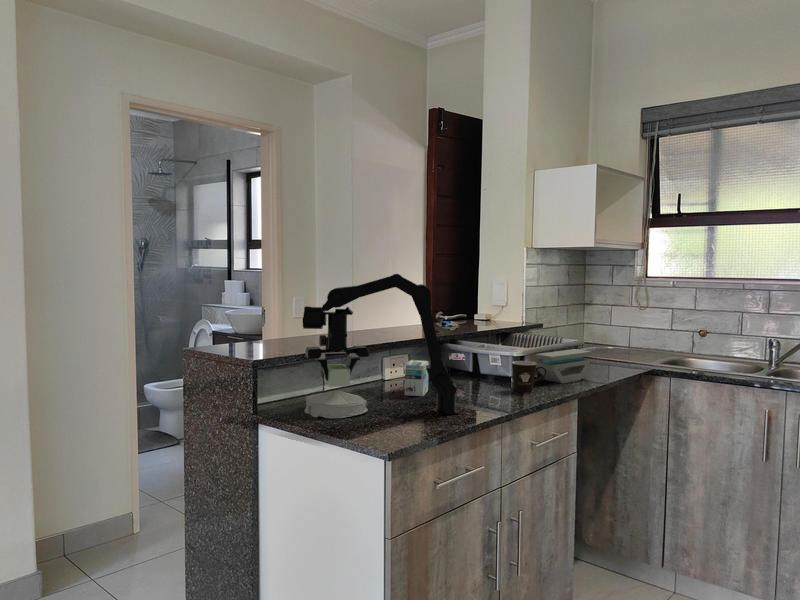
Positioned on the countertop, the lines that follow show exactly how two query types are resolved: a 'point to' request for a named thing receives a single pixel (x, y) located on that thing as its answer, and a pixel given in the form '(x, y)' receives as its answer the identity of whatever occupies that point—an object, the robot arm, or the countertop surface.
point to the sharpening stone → (564, 365)
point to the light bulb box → (416, 378)
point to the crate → (338, 375)
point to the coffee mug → (524, 375)
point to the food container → (335, 405)
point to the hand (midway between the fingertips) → (337, 380)
